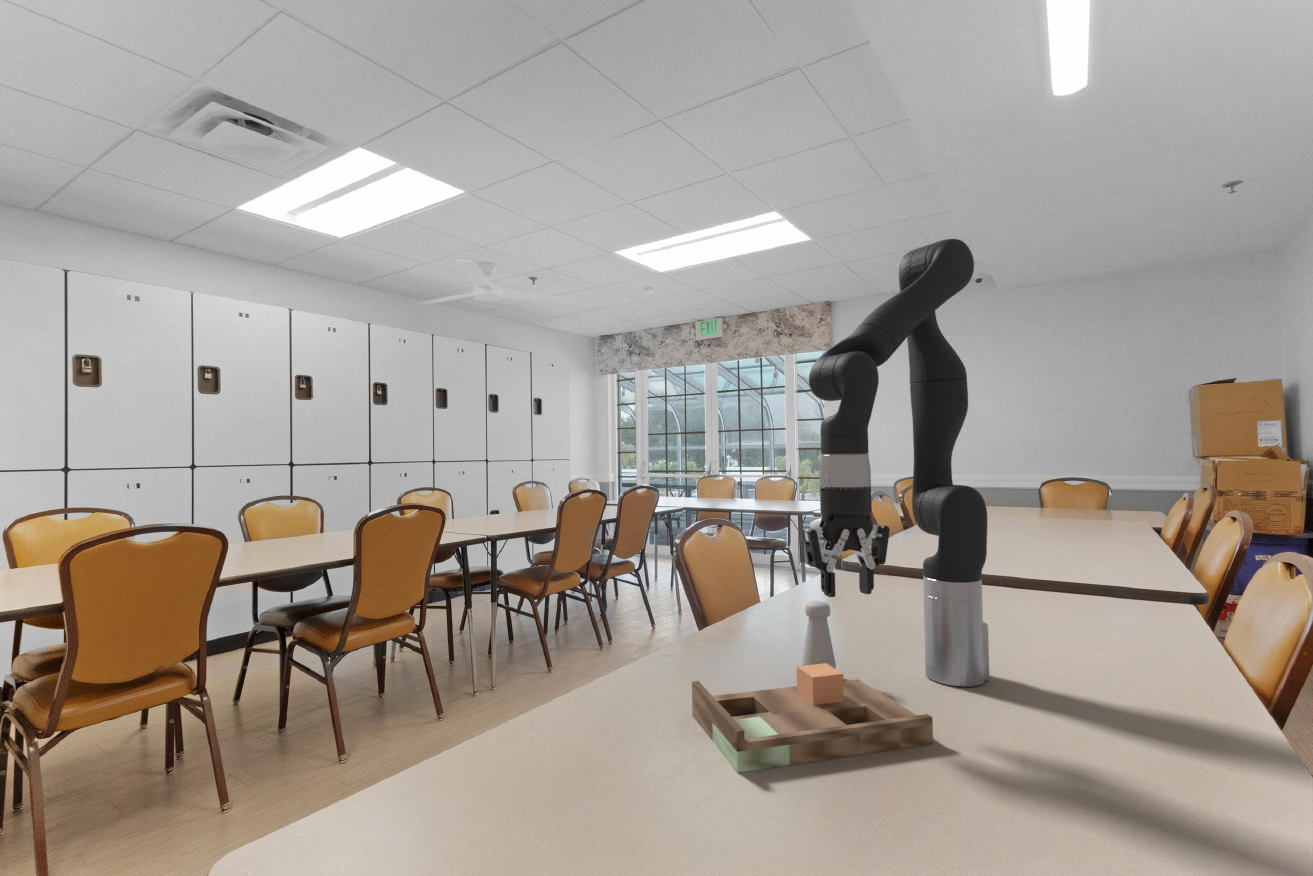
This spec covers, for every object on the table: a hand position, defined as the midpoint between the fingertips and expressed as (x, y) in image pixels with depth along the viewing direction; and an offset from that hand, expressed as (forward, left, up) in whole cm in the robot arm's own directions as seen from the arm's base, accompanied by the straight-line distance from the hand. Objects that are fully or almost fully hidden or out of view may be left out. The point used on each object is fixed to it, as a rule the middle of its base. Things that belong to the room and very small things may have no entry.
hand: (847, 594), depth 97 cm
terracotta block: (+5, 0, -15) cm, 16 cm away
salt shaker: (-2, -14, -18) cm, 23 cm away
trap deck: (+10, +4, -17) cm, 20 cm away
